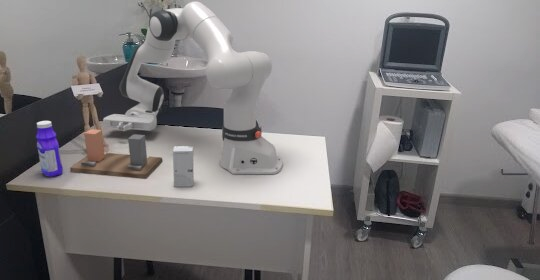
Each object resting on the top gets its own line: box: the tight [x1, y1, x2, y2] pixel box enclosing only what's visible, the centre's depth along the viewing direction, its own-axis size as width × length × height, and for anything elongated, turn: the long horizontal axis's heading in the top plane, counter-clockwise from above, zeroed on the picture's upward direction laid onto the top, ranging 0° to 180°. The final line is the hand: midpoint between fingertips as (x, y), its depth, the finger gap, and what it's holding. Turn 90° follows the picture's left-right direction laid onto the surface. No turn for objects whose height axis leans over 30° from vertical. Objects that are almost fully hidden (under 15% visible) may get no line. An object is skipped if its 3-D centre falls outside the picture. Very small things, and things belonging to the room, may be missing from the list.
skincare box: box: [172, 145, 195, 188], centre depth 126 cm, size 6×4×12 cm
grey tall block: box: [127, 133, 148, 167], centre depth 135 cm, size 4×4×10 cm
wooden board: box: [69, 151, 163, 179], centre depth 138 cm, size 26×14×3 cm, turn 83°
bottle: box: [35, 120, 64, 178], centre depth 129 cm, size 7×6×17 cm
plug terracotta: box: [83, 128, 105, 162], centre depth 138 cm, size 4×4×10 cm
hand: (120, 128), depth 156 cm, fingers closed
